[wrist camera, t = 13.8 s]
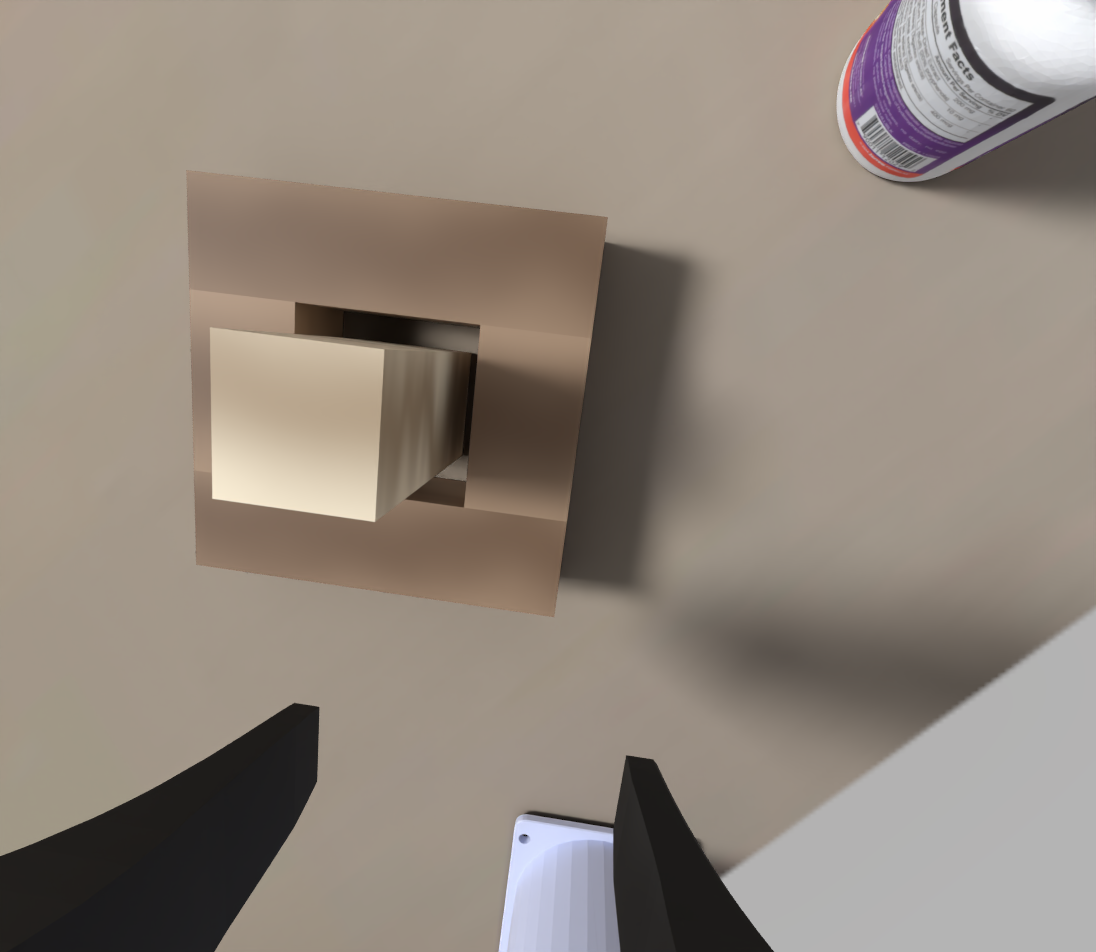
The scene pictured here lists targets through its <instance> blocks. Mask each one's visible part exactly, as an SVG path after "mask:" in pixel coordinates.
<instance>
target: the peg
mask: <svg viewBox="0 0 1096 952" xmlns="http://www.w3.org/2000/svg"><path fill="white" fill-rule="evenodd" d="M470 362H471V353H469V352H461V351H453V350H445V349H437V348H430V347H422V346H414V345H406V344H398V343H390V342H382V341H374V340H365V339H352V338H340V337H327V336H315V335H302V334H289V333H277V332H264V331H252V330H239V329H227V328H214V327H210V369H211V437H212V499H218V500H225V501H232V502H239V503H246V504H253V505H260V506H267V507H274V508H281V509H288V510H295V511H302V512H309V513H316V514H323V515H330V516H337V517H344V518H351V519H358V520H365V521H372V522H376V521H377V520H378V519H380V518H381V517H382V516H383V515H385V514H386V513H387V512H389V511H390V510H391V509H393V508H394V507H395V506H397V505H398V504H399V503H400V502H402V501H403V500H404V499H406V498H407V497H408V496H410V495H411V494H412V493H413V492H415V491H416V490H417V489H419V488H420V487H421V486H423V485H424V484H425V483H427V482H428V481H429V480H430V479H432V478H433V477H434V476H436V475H437V474H438V473H440V472H441V471H442V470H444V469H445V468H446V467H447V466H449V465H450V464H451V463H453V462H454V461H455V460H457V459H458V458H459V457H460V456H462V452H463V440H464V429H465V418H466V407H467V396H468V384H469V373H470Z"/></svg>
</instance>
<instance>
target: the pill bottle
mask: <svg viewBox="0 0 1096 952" xmlns="http://www.w3.org/2000/svg"><path fill="white" fill-rule="evenodd" d="M1094 98H1096V0H891V1H890V3H889V4H888V5H887V6H886V7H885V9H884V10H883V11H882V12H881V13H880V14H879V16H878V17H877V18H876V19H875V20H874V21H873V22H872V24H871V25H870V26H869V28H868V29H867V30H866V32H865V33H864V34H863V35H862V37H861V38H860V39H859V41H858V42H857V44H856V45H855V47H854V49H853V50H852V52H851V54H850V56H849V58H848V60H847V62H846V64H845V67H844V69H843V72H842V75H841V79H840V83H839V87H838V93H837V118H838V124H839V129H840V132H841V135H842V138H843V140H844V142H845V144H846V146H847V148H848V150H849V151H850V153H851V154H852V155H853V157H854V158H855V159H856V160H857V161H858V162H859V163H860V164H861V165H862V166H863V167H864V168H865V169H867V170H868V171H870V172H872V173H873V174H875V175H878V176H880V177H882V178H886V179H889V180H894V181H902V182H915V181H924V180H928V179H932V178H935V177H938V176H941V175H943V174H946V173H948V172H950V171H953V170H955V169H958V168H960V167H962V166H964V165H966V164H968V163H970V162H972V161H974V160H976V159H978V158H980V157H981V156H983V155H985V154H987V153H989V152H991V151H993V150H995V149H997V148H999V147H1000V146H1002V145H1004V144H1006V143H1008V142H1010V141H1012V140H1014V139H1016V138H1018V137H1020V136H1022V135H1024V134H1026V133H1027V132H1029V131H1031V130H1033V129H1035V128H1037V127H1039V126H1041V125H1043V124H1045V123H1047V122H1049V121H1051V120H1053V119H1055V118H1057V117H1058V116H1060V115H1062V114H1064V113H1066V112H1068V111H1070V110H1072V109H1074V108H1076V107H1078V106H1080V105H1082V104H1084V103H1086V102H1088V101H1090V100H1092V99H1094Z"/></svg>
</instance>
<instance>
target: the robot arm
mask: <svg viewBox="0 0 1096 952" xmlns="http://www.w3.org/2000/svg"><path fill="white" fill-rule="evenodd" d="M318 734H319V707H316V706H310V705H303V704H297V703H294V704H292V705H290V706H288V707H287V708H285V709H284V710H282V711H280V712H279V713H277V714H276V715H274V716H272V717H271V718H269V719H268V720H266V721H265V722H263V723H262V724H260V725H258V726H257V727H255V728H254V729H252V730H251V731H249V732H248V733H246V734H244V735H243V736H241V737H240V738H238V739H236V740H235V741H233V742H232V743H230V744H228V745H227V746H225V747H224V748H222V749H220V750H219V751H217V752H216V753H214V754H212V755H211V756H209V757H207V758H206V759H204V760H202V761H201V762H199V763H197V764H195V765H194V766H192V767H190V768H188V769H187V770H185V771H183V772H181V773H180V774H178V775H176V776H174V777H173V778H171V779H169V780H167V781H166V782H164V783H162V784H161V785H159V786H157V787H155V788H153V789H151V790H149V791H147V792H145V793H144V794H142V795H140V796H138V797H136V798H134V799H132V800H130V801H128V802H126V803H124V804H122V805H120V806H118V807H115V808H113V809H111V810H109V811H107V812H105V813H103V814H101V815H99V816H97V817H95V818H92V819H90V820H88V821H85V822H83V823H81V824H78V825H76V826H74V827H71V828H69V829H67V830H64V831H62V832H60V833H57V834H55V835H53V836H50V837H48V838H46V839H43V840H41V841H39V842H36V843H34V844H31V845H29V846H26V847H24V848H21V849H19V850H16V851H13V852H11V853H8V854H5V855H3V856H0V952H214V951H215V950H216V948H217V946H218V945H219V943H220V941H221V940H222V938H223V936H224V935H225V933H226V931H227V930H228V928H229V927H230V925H231V924H232V922H233V921H234V919H235V918H236V916H237V915H238V913H239V912H240V910H241V908H242V907H243V905H244V904H245V902H246V901H247V899H248V898H249V896H250V895H251V893H252V892H253V890H254V889H255V887H256V885H257V884H258V882H259V881H260V879H261V878H262V876H263V875H264V873H265V872H266V870H267V869H268V867H269V866H270V864H271V862H272V861H273V859H274V858H275V856H276V855H277V853H278V852H279V850H280V848H281V847H282V845H283V844H284V842H285V841H286V839H287V838H288V836H289V834H290V833H291V831H292V830H293V828H294V826H295V824H296V822H297V821H298V819H299V817H300V815H301V813H302V811H303V809H304V807H305V805H306V803H307V801H308V799H309V797H310V795H311V793H312V791H313V789H314V787H315V784H316V782H317V767H318ZM522 834H526V835H528V836H523V835H522ZM499 952H774V951H773V950H772V949H771V947H770V946H769V945H768V944H767V942H766V941H765V940H764V939H763V937H762V936H761V935H760V934H759V932H758V931H757V930H756V928H755V927H754V926H753V924H752V923H751V922H750V920H749V919H748V918H747V916H746V915H745V914H744V912H743V911H742V910H741V908H740V907H739V905H738V904H737V903H736V901H735V900H734V898H733V897H732V895H731V894H730V893H729V891H728V890H727V888H726V887H725V885H724V884H723V882H722V881H721V879H720V877H719V876H718V874H717V873H716V871H715V870H714V868H713V867H712V865H711V864H710V862H709V860H708V859H707V857H706V855H705V854H704V852H703V851H702V849H701V847H700V846H699V844H698V842H697V840H696V839H695V837H694V835H693V833H692V832H691V830H690V828H689V827H688V825H687V823H686V821H685V819H684V818H683V816H682V814H681V812H680V810H679V808H678V806H677V805H676V803H675V801H674V799H673V797H672V795H671V793H670V791H669V789H668V787H667V785H666V783H665V781H664V779H663V777H662V774H661V772H660V770H659V768H658V766H657V764H656V763H655V761H654V760H653V759H646V758H640V757H634V756H627V755H626V760H625V766H624V772H623V777H622V783H621V788H620V794H619V800H618V805H617V811H616V817H615V822H614V828H608V827H602V826H596V825H590V824H584V823H578V822H572V821H566V820H560V819H553V818H547V817H541V816H535V815H529V814H523V815H520V816H519V817H518V818H517V819H516V822H515V829H514V837H513V845H512V852H511V860H510V868H509V876H508V884H507V891H506V899H505V907H504V915H503V922H502V930H501V938H500V946H499Z"/></svg>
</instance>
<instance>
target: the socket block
mask: <svg viewBox="0 0 1096 952" xmlns="http://www.w3.org/2000/svg"><path fill="white" fill-rule="evenodd" d="M186 172H187V211H188V251H189V291H190V330H191V370H192V409H193V449H194V489H195V528H196V565H202V566H209V567H216V568H223V569H229V570H236V571H243V572H250V573H257V574H264V575H270V576H277V577H284V578H291V579H298V580H305V581H311V582H318V583H325V584H332V585H339V586H345V587H352V588H359V589H366V590H373V591H380V592H386V593H393V594H400V595H407V596H414V597H421V598H427V599H434V600H441V601H448V602H455V603H462V604H468V605H475V606H482V607H489V608H496V609H503V610H509V611H516V612H523V613H530V614H537V615H543V616H550V617H554V614H555V607H556V599H557V592H558V585H559V577H560V570H561V562H562V555H563V547H564V540H565V533H566V525H567V518H568V510H569V503H570V495H571V488H572V480H573V473H574V466H575V458H576V451H577V443H578V436H579V428H580V421H581V413H582V406H583V398H584V391H585V384H586V376H587V369H588V361H589V354H590V346H591V339H592V331H593V324H594V317H595V309H596V302H597V294H598V287H599V279H600V272H601V264H602V257H603V249H604V242H605V234H606V227H607V219H608V217H601V216H592V215H583V214H574V213H565V212H556V211H547V210H538V209H529V208H521V207H512V206H503V205H494V204H485V203H476V202H467V201H458V200H449V199H440V198H431V197H422V196H413V195H404V194H395V193H386V192H377V191H368V190H359V189H350V188H341V187H332V186H323V185H314V184H305V183H296V182H287V181H278V180H269V179H260V178H251V177H243V176H234V175H225V174H216V173H207V172H198V171H189V170H186ZM343 311H347V312H355V313H363V314H371V315H380V316H388V317H396V318H404V319H412V320H420V321H429V322H437V323H445V324H453V325H461V326H470V327H478V328H480V335H479V346H478V358H477V369H476V380H475V391H474V402H473V414H472V425H471V436H470V447H469V458H468V469H467V481H466V482H465V481H458V480H450V479H443V478H436V477H433V478H432V479H430V480H429V481H428V482H427V483H425V484H424V485H423V486H421V487H420V488H419V489H417V490H416V491H415V492H413V493H412V494H411V495H410V496H408V497H407V498H406V499H404V500H403V501H402V502H400V503H399V504H398V505H397V506H395V507H394V508H393V509H391V510H390V511H389V512H387V513H386V514H385V515H383V516H382V517H381V518H380V519H378V520H377V521H376V522H372V521H365V520H358V519H351V518H344V517H337V516H330V515H323V514H316V513H309V512H302V511H295V510H288V509H281V508H274V507H267V506H260V505H253V504H246V503H239V502H232V501H225V500H218V499H212V437H211V369H210V327H214V328H227V329H239V330H252V331H264V332H277V333H289V334H302V335H315V336H327V337H340V338H342V337H343Z"/></svg>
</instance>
